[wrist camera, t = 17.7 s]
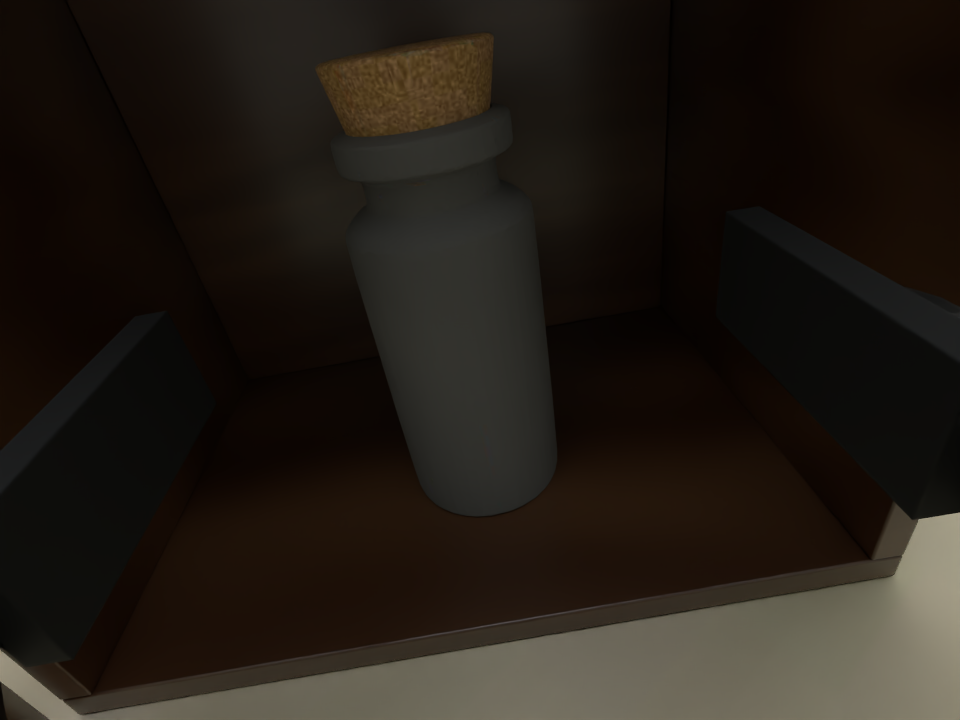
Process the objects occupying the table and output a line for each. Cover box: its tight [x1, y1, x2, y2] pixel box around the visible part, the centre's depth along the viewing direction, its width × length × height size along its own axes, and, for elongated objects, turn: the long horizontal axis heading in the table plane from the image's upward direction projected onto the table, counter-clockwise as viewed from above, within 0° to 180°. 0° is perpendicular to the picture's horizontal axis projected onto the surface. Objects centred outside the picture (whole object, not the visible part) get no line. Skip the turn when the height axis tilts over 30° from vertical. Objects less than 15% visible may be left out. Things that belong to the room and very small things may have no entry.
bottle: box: [315, 32, 557, 517], centre depth 18 cm, size 6×6×15 cm
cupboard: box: [0, 0, 960, 714], centre depth 17 cm, size 18×26×26 cm
